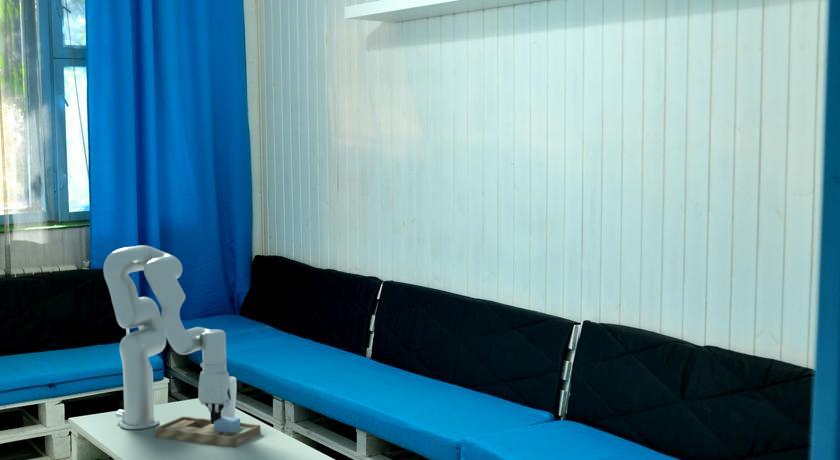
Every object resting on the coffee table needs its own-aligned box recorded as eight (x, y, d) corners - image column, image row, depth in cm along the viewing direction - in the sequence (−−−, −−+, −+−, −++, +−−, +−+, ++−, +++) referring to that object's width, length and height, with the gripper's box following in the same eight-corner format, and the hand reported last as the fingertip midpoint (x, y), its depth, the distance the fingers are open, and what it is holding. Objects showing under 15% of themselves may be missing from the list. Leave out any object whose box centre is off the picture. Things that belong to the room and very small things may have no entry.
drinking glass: (232, 425, 313) (231, 381, 312) (213, 424, 314) (212, 380, 313) (240, 419, 320) (239, 376, 318) (221, 418, 321) (220, 375, 320)
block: (214, 430, 300) (213, 421, 300) (224, 425, 306) (224, 416, 306) (230, 432, 298) (229, 423, 298) (240, 427, 304) (240, 418, 303)
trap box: (155, 436, 300) (155, 428, 300) (182, 424, 314) (182, 416, 314) (235, 447, 290) (235, 438, 290) (260, 433, 304) (260, 425, 303)
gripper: (188, 368, 302) (189, 424, 303) (228, 372, 297) (229, 428, 298) (201, 363, 309) (203, 417, 310) (240, 367, 304) (241, 422, 305)
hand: (215, 423), depth 304 cm, fingers closed
